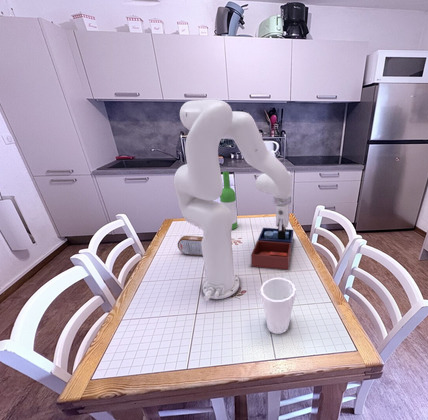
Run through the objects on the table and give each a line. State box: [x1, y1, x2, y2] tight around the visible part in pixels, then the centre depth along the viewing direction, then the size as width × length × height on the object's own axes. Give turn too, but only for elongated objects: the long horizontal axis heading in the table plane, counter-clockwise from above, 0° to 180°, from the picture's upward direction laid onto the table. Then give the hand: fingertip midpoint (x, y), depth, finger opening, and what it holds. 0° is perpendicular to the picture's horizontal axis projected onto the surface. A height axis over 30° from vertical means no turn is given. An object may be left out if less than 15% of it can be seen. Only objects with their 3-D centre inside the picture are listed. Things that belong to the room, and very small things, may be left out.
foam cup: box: [260, 277, 297, 335], centre depth 66 cm, size 10×9×13 cm
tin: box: [177, 235, 203, 257], centre depth 100 cm, size 15×3×8 cm, turn 84°
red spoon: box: [260, 252, 287, 257], centre depth 97 cm, size 11×4×3 cm, turn 82°
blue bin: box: [257, 227, 294, 251], centre depth 108 cm, size 11×15×6 cm
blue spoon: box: [264, 231, 289, 239], centre depth 108 cm, size 11×4×3 cm, turn 82°
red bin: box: [250, 240, 292, 271], centre depth 97 cm, size 11×15×6 cm
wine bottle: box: [219, 170, 238, 230], centre depth 120 cm, size 8×8×30 cm
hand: (281, 237), depth 108 cm, fingers closed on blue spoon, 2 cm apart
